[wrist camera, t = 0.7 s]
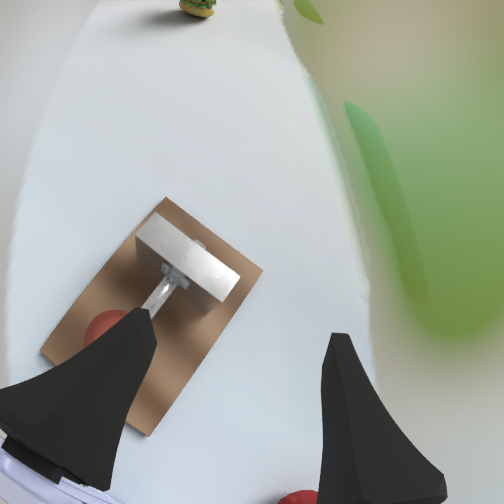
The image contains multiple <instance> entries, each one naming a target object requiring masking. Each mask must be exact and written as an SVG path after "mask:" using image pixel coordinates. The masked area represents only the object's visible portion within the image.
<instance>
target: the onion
mask: <svg viewBox="0 0 504 504" xmlns="http://www.w3.org/2000/svg"><path fill="white" fill-rule="evenodd" d="M317 496H318V492H316V491H313V490H301V491H297V492H294V493H290V494H289V495H287V496H286V497H284V498H283V499H281V500H280V502H279V503H278V504H316V503H317Z"/></svg>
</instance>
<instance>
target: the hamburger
mask: <svg viewBox="0 0 504 504" xmlns="http://www.w3.org/2000/svg"><path fill="white" fill-rule="evenodd" d="M214 5H216V0H180V2H179V6H180V8H181V9H182V10H184V11H185V12H187V13H190V14H192V15H195V16H200V17H210V16H212V15H213V14H214V12H215V11H214V10H212V6H214Z"/></svg>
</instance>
